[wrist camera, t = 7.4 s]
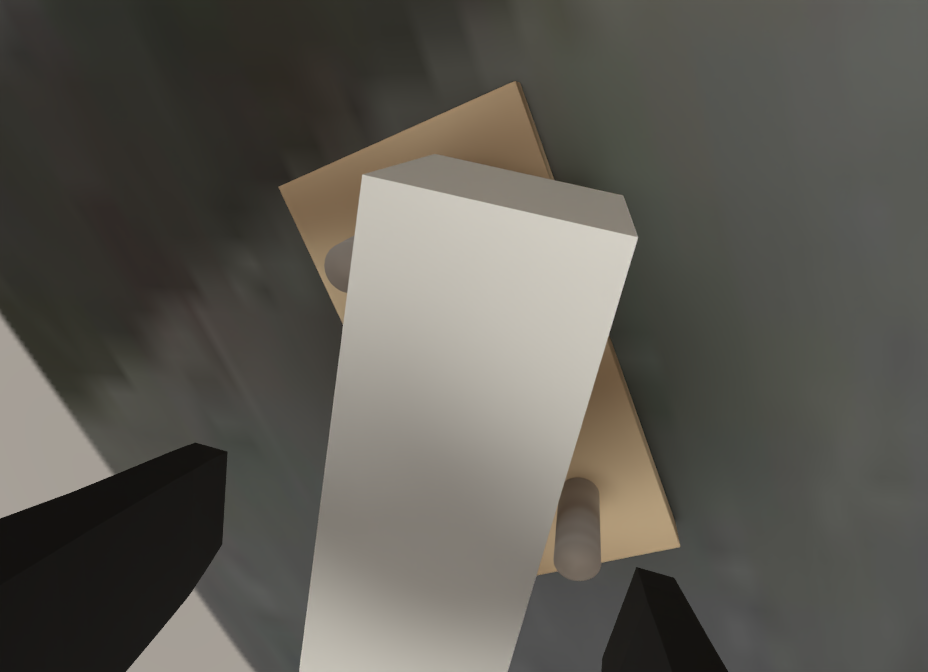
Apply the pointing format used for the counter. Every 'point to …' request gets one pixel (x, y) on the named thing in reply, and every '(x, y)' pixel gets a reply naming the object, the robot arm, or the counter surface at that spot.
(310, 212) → the peg stand
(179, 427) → the counter surface
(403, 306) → the white rectangular block
